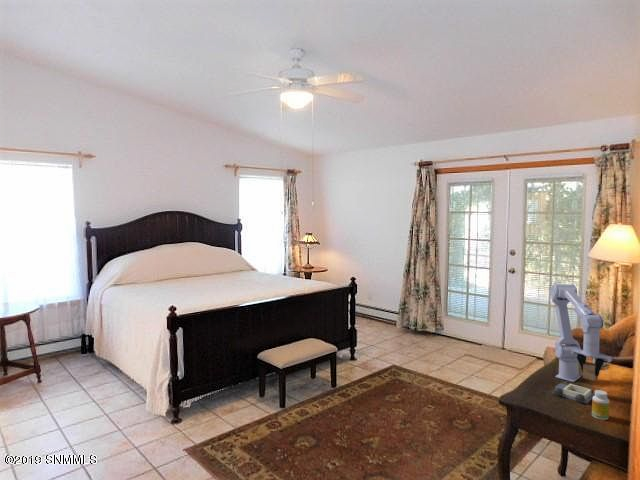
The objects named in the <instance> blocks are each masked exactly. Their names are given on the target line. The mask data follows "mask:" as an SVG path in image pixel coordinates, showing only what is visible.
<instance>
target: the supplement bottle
mask: <svg viewBox="0 0 640 480" xmlns="http://www.w3.org/2000/svg"><path fill="white" fill-rule="evenodd" d="M591 416H592V417H593V418H595V419H597V420H600V421H607V420H609V418H610V399H609V398H608V393H607V391H604V390H599V389H595V390H594V396H593V398H592V399H591Z"/></svg>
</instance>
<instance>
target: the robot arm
mask: <svg viewBox="0 0 640 480" xmlns="http://www.w3.org/2000/svg"><path fill="white" fill-rule="evenodd" d="M549 293H550V298H551V302H552V303H554V307H555V314H556V319H557V325H558V330H559V331H558V333H559V337H560V338H559V339H558V340H556V341H555V342H554V346H555V347H554V352H555V353H554V354H555V356H556V358H557V359H559V361H558V373H557V374H556V375H555V378H557V379H561V380H565V381H568V382H572V383H574V382H576V381H577V380H579V379H580V378H581V377H582V376H581V375H580V374H579V370H581V373H582V374H583V364H584V363H585V362H587V357H588V358H591V359H593V358H596V359H595V364H596V372H595V375H596V376H598V377H599V375H600V371H601V370H602V369H601V367H603V366H602V365H603V363H611V362H612V360H613V358H612V356H610V355H607V354H603V353H601V352H600V338H601V337H600V335H601V334H600V333H601V329H603V327H604V319H603V317H602V315H600V314H597V313H595V312H594V311H593V309H591V307H590V306H589V305H588V304H587V302H583V301H582V300H581V298H580V296H579V294H578V288H577V287H576V285H575V284H573V283H571V284H555V283H553V284H552V285H551V287H550V289H549ZM569 303H571V304H572V305H573V306H574V308H573V309H574V312H575V314H577V316H578V318H580V323H581V324H580V325H581V328H582V332H583V342H582V344H583V346H582V347H583V348H581V345H580V342H579V341H577V340H576V339H575V338H574V337H573V331H572V328H571V326H572V325H571V321H570V320H571V319H570V314H569V310H568V304H569Z"/></svg>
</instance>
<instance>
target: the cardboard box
mask: <svg viewBox="0 0 640 480" xmlns="http://www.w3.org/2000/svg"><path fill="white" fill-rule="evenodd" d="M595 372H596V364H595V363H591V361H586V362H585V363H584V364H583V373H582V379H586V380H590V381H593V382H594V381H596V380H597V379H598V378H599V375H598V376H596V375H595Z"/></svg>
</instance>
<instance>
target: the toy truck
mask: <svg viewBox="0 0 640 480" xmlns="http://www.w3.org/2000/svg"><path fill="white" fill-rule="evenodd" d="M552 395H555V396H556V397H563V398H566V399H568V400H569V399H570V400H573V401H576V402H577V403H578V404H582V403H584V404H588V403H589V402H590V401H592V398H593V396H595V393H594V390H593V388H592V387H589V386H588V387H587V386H586V387H584V386H579V385H577V384H573V383H571V381H568V380H565V381H563V382H560V383H559V384H557V385H556V386H554V389H553V390H552Z"/></svg>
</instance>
